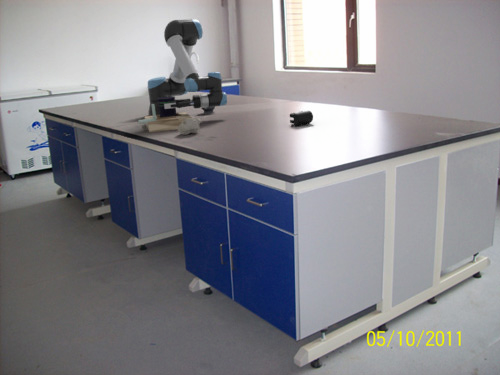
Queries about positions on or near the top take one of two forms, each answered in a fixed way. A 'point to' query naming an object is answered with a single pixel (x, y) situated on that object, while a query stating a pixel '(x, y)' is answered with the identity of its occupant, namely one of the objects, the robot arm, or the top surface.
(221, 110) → the top surface
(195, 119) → the fossil replica
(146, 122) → the cover
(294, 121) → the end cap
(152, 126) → the puzzle board
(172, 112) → the dark blue barrel
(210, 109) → the mortar and pestle
